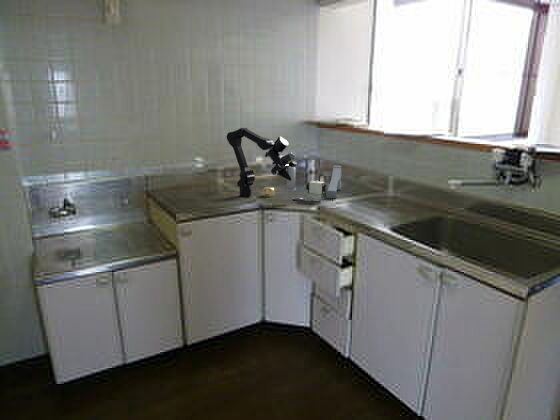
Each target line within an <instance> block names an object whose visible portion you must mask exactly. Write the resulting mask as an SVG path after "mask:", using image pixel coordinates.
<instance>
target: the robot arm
mask: <svg viewBox="0 0 560 420" xmlns="http://www.w3.org/2000/svg"><path fill="white" fill-rule="evenodd" d="M244 137H245V138H246V139H248V140H250V141H252V142H253V143H254V144H256V145H257V147H258V148H259V149H261V150H262V151H266V152H265V154H264V157H265V158H270V159H271V161H272V164H273V167H272V168H271V170H270V173H271V175H273V176H275V175H277V176H280V177H281V178H284V179H286V180H287V179H288V180H290V181H291V180H292V179H291V177H290V176H289V174H288V173H287V167H295V168H296V166H298V163H297V161H294V160H295V157H296V154H294V153H293V152H289V153H288V154H286V155H282V154H281V153H283V152H284V151H285V150H286V149H287V147H288V146H289V141H288V140H287V139H286V138H284V137H282V136H278V137H277V139H276V140H275V141H273V140H272V139H270V138H268V137H262V136H260V135H259V134H257V133H255V132H253V131H251V130H250V129H248V128H247V127H240V128H238V129H237V130H234V131H229V132H228V133H227V134H226V140H227V142H228V144H229V145H230V146H231V147H232V148H233V152H234V155H235V157H236V161H237V164H238V166H239V170H240V172H239V179H238V181H237V182H236V185H237V187H239V195H238V197H242V196H250V197H251V196H252V195H253V188H252V186H253V185H254V182H255V179H256V175H255V173H254V170H253V169H250V168H249V165H248V163H247V159H246V157H245V154H244V151H243V148H242V142H243V140H242V138H244ZM292 160H293V161H292ZM277 172H278V173H277ZM295 180H297V176H296V177H295Z"/></svg>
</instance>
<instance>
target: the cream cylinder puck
mask: <svg viewBox="0 0 560 420" xmlns="http://www.w3.org/2000/svg"><path fill="white" fill-rule="evenodd" d="M263 197H264V198H273V197H275V187H273V186H265V187H263Z"/></svg>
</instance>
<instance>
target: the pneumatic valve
mask: <svg viewBox="0 0 560 420" xmlns="http://www.w3.org/2000/svg"><path fill="white" fill-rule="evenodd" d="M305 186H306V187H305V189H306V190H307V192H308V194H313V195H312V196H311V199H312V202H321V201H322V199H323V196H322V195H324V194H326V192H327V191H328V187H329V185H328V184H327V182H326V181H319V180H318V179H316V180H311V181H308V182H307V183H306V185H305Z"/></svg>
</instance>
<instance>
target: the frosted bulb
mask: <svg viewBox="0 0 560 420" xmlns="http://www.w3.org/2000/svg"><path fill="white" fill-rule="evenodd" d="M296 169H297V168H296V166H295V167H287V173H288V174H289V176H290V177H291V179H292V180H291V181H290V180H288V179H286V188H285V189H286V190H285V192H287V193H295V192H296V191H297V187H296V179H295V177H296V178H297V176H296V175H297V171H296Z"/></svg>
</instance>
